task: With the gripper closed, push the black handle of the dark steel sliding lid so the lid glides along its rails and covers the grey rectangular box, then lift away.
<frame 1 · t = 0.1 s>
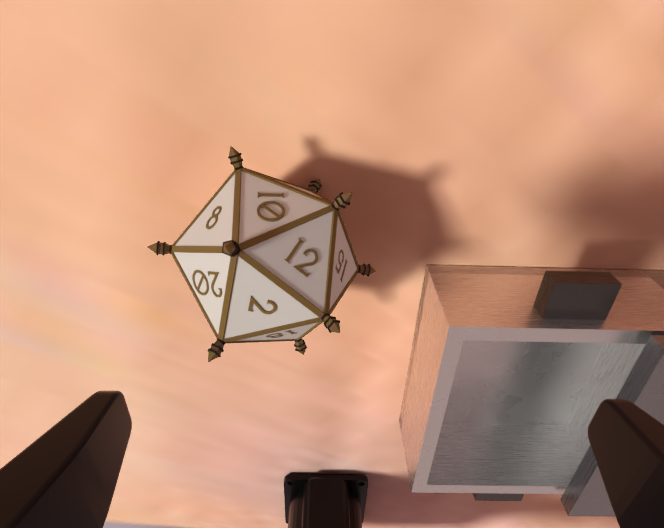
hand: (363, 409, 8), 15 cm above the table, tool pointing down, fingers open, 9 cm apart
game die: (279, 217, 23), on the table
grey rectangular box: (505, 354, 27), on the table
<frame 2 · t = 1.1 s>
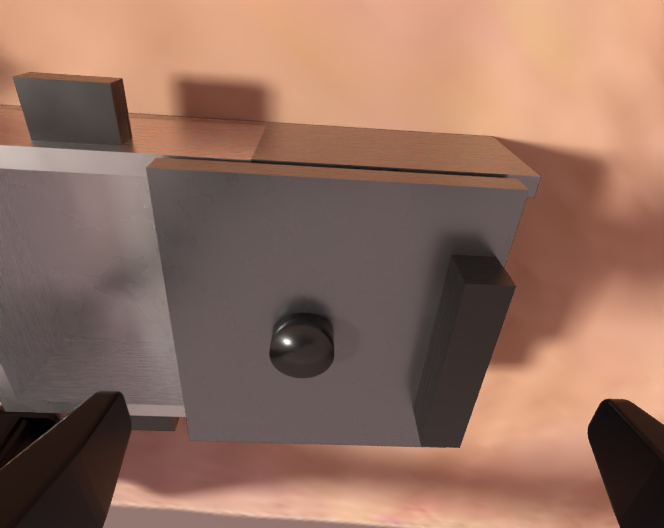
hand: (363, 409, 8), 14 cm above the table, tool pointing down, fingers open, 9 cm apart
grey rectangular box: (150, 245, 22), on the table
lid: (328, 345, 17), point 7 cm above the table, slide at 9.0 cm
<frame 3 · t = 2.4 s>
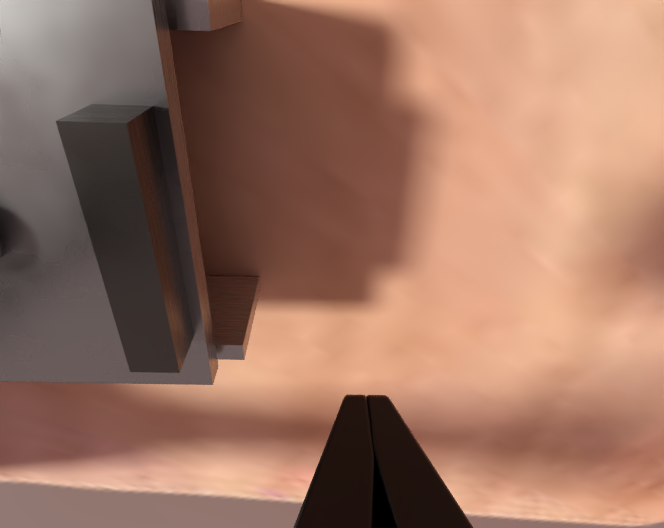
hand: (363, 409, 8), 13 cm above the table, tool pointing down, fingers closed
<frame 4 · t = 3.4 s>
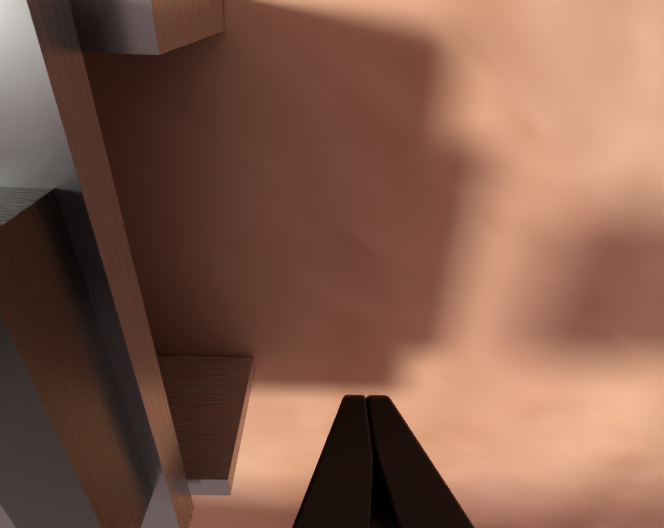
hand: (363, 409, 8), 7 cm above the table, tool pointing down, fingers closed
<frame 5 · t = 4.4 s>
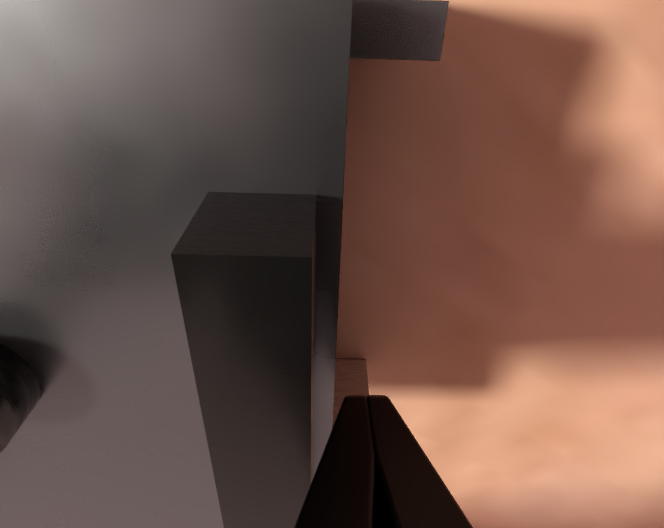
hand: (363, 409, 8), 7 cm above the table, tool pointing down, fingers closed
lid: (14, 393, 8), point 7 cm above the table, slide at 8.5 cm, touching gripper
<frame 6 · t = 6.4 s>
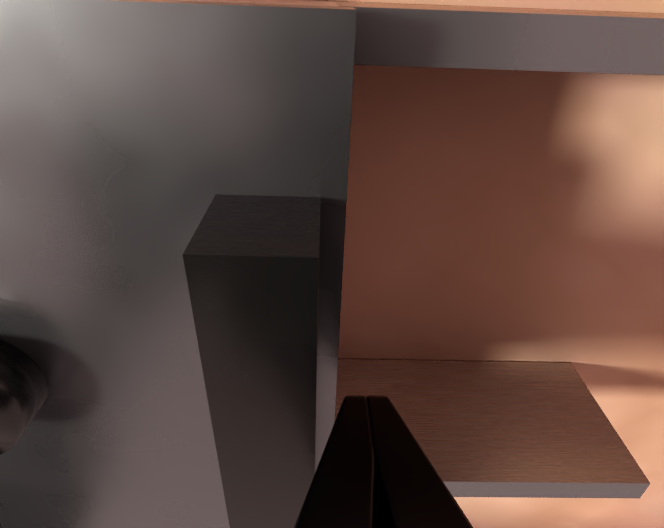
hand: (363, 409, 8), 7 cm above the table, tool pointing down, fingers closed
grey rectangular box: (142, 227, 14), on the table
lid: (23, 392, 8), point 7 cm above the table, slide at 0.2 cm, touching gripper
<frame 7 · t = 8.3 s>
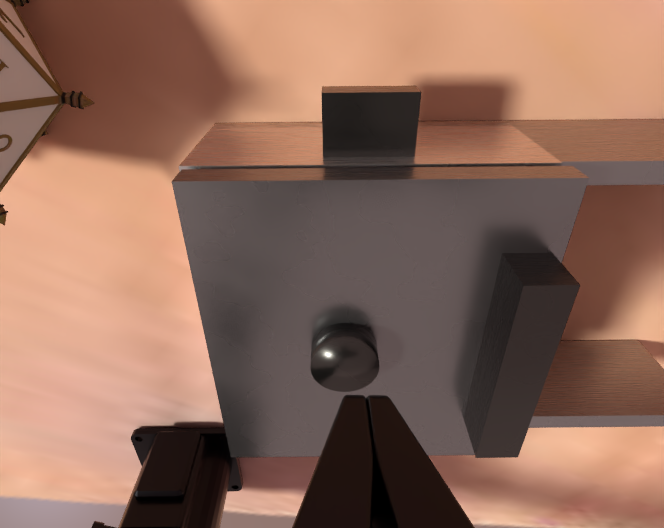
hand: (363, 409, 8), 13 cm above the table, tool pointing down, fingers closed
game die: (0, 57, 17), on the table
grey rectangular box: (356, 256, 21), on the table
lid: (372, 355, 16), point 7 cm above the table, slide at 0.2 cm
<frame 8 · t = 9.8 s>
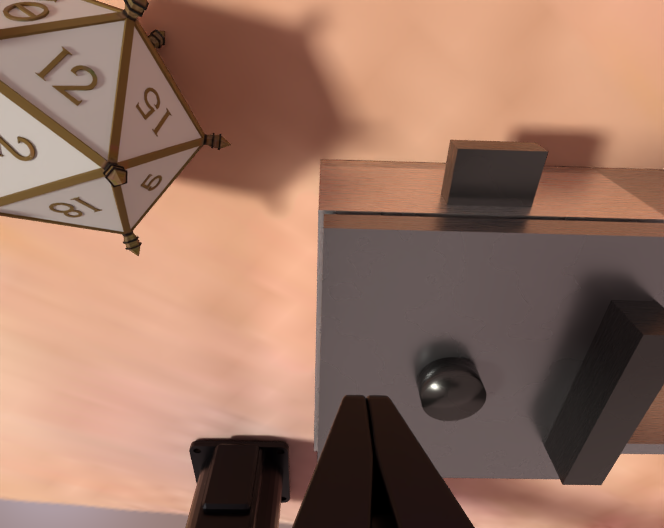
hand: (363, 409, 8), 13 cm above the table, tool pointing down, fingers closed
game die: (124, 91, 18), on the table
grey rectangular box: (433, 285, 23), on the table
lid: (475, 387, 17), point 7 cm above the table, slide at 0.2 cm
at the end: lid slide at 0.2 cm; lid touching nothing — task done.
